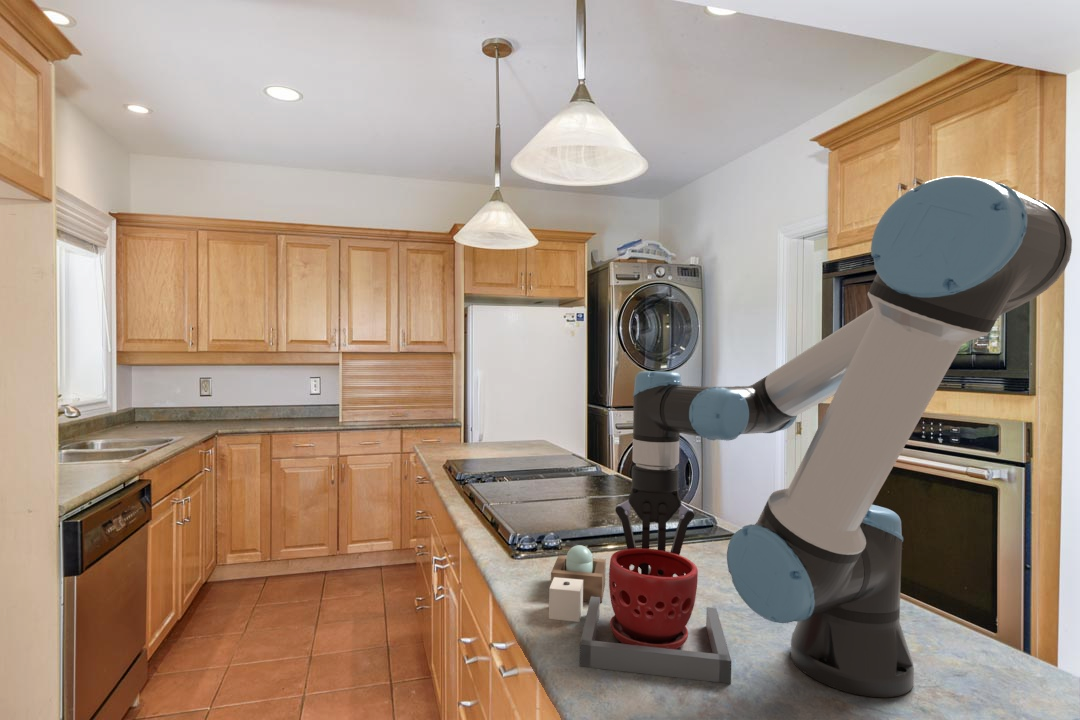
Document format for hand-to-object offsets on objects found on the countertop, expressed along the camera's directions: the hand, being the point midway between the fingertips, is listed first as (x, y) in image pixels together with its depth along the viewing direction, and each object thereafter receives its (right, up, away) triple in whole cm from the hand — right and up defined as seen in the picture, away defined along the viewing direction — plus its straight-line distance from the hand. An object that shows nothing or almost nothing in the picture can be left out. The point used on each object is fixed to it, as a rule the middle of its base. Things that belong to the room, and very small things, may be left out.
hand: (652, 608), depth 96 cm
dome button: (-11, 0, +10) cm, 15 cm away
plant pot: (-2, -2, -8) cm, 8 cm away
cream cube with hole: (-14, -1, +1) cm, 14 cm away
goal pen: (-2, -2, -9) cm, 9 cm away
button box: (-11, -1, +10) cm, 15 cm away
